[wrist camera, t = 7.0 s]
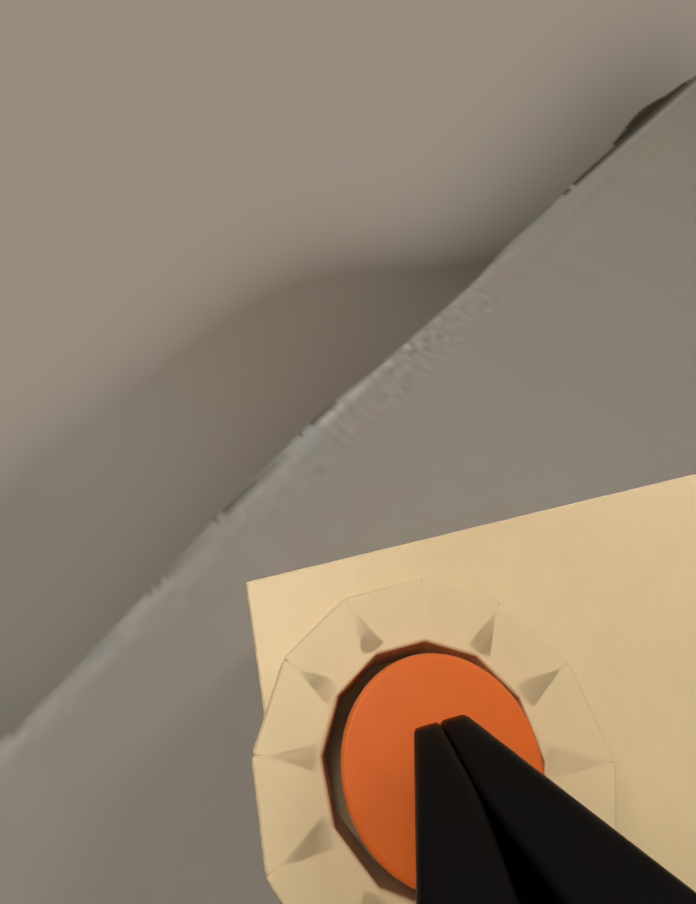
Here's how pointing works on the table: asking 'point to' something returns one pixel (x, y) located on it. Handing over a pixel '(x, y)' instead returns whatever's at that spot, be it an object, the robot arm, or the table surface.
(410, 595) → the button base
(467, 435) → the table surface
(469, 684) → the round orange push button
